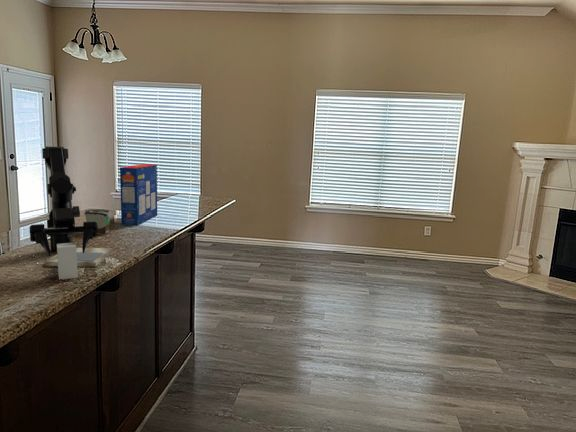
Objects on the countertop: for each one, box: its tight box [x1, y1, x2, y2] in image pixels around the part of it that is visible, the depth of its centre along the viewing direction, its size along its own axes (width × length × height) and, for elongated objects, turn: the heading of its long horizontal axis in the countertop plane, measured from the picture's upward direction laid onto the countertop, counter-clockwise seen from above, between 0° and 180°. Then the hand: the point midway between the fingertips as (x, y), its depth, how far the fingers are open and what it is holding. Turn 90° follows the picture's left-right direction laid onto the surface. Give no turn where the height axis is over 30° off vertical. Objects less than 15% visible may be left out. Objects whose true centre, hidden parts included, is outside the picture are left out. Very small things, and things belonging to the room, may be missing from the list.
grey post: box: [56, 242, 79, 281], centre depth 129 cm, size 5×5×10 cm
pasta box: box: [119, 163, 158, 227], centre depth 216 cm, size 28×8×28 cm, turn 178°
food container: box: [83, 208, 112, 236], centre depth 187 cm, size 12×6×10 cm, turn 74°
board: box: [44, 247, 113, 267], centre depth 148 cm, size 16×18×2 cm
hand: (66, 254), depth 128 cm, fingers open, 9 cm apart
